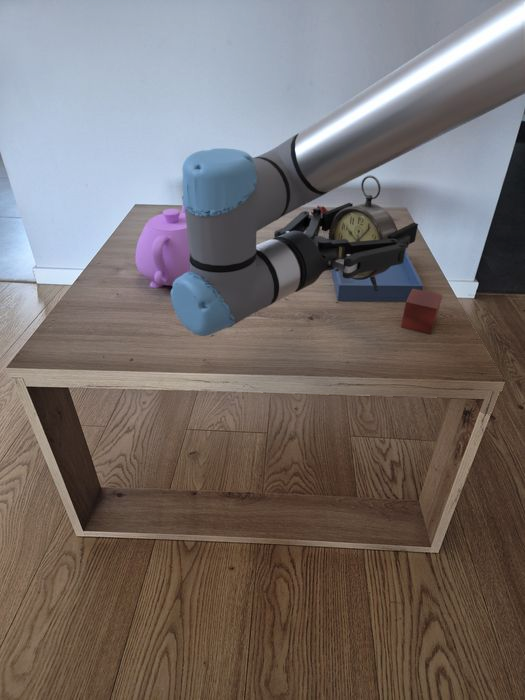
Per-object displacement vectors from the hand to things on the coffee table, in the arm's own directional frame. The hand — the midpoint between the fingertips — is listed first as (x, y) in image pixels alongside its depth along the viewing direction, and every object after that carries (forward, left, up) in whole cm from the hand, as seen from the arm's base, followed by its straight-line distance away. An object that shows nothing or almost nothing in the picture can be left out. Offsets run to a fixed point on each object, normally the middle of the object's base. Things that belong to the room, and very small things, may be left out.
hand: (380, 221), depth 77 cm
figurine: (+26, -25, -18) cm, 40 cm away
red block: (-7, -5, -18) cm, 20 cm away
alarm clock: (0, +4, -9) cm, 10 cm away
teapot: (+36, +14, -18) cm, 42 cm away
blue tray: (+9, -13, -18) cm, 24 cm away
